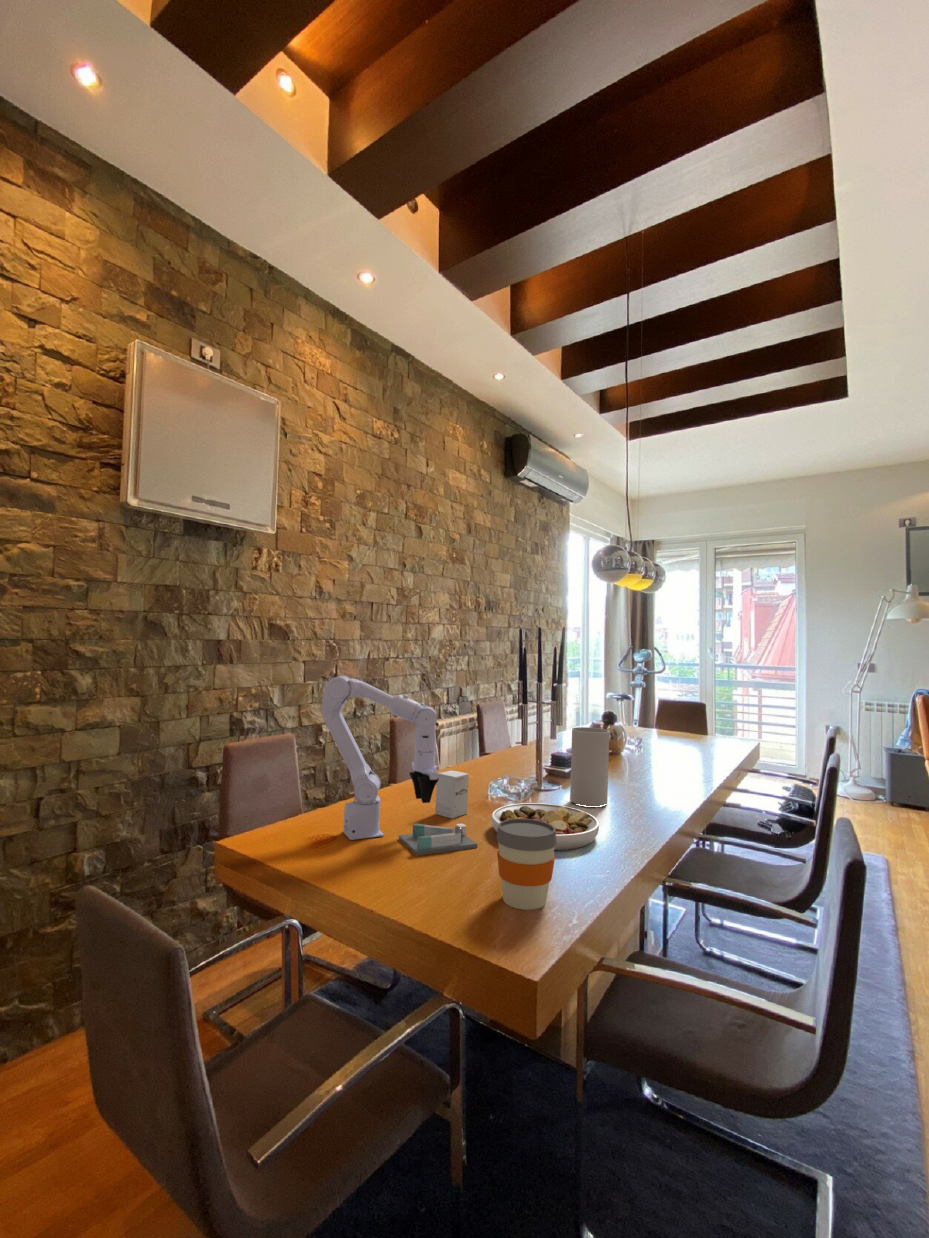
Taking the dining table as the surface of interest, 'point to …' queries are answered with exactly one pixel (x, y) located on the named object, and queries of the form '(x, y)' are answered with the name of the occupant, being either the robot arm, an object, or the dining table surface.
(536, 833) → the reusable coffee cup
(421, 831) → the tong arm
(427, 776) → the robot arm
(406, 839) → the slate board
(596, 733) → the cylinder vase
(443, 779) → the supplement box
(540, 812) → the bowl
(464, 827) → the tab
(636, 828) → the dining table surface
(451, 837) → the tongs fixed
